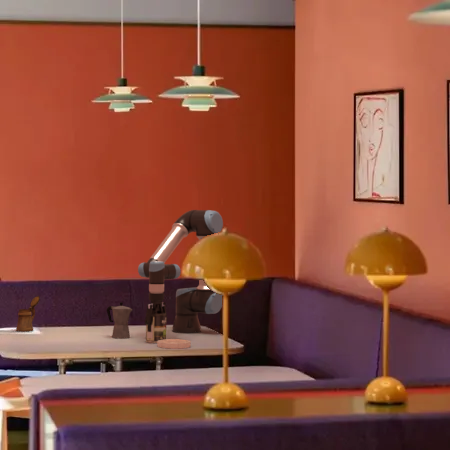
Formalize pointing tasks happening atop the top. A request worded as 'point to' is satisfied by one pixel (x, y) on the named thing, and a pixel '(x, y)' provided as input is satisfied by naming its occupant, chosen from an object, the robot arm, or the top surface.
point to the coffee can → (157, 328)
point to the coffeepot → (120, 321)
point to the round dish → (174, 343)
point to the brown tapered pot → (27, 317)
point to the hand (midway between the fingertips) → (156, 337)
